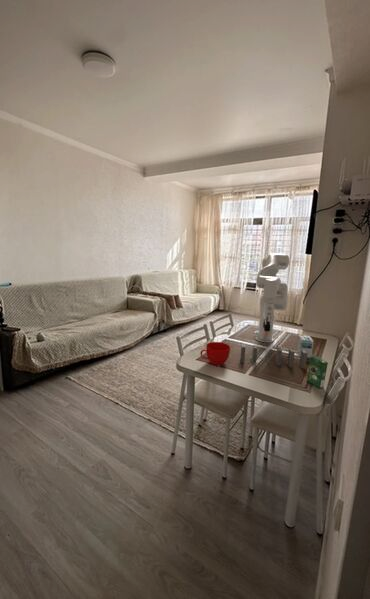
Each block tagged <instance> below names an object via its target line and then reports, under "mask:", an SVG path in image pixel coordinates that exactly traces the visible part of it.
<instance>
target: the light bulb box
mask: <svg viewBox="0 0 370 599" xmlns="http://www.w3.org/2000/svg"><path fill="white" fill-rule="evenodd" d="M314 342H315V341H314V340H313V338H312V337H311V336H310V335H305V334H298V341H297V350H296V351H297V353H298V355H299V356H300V355H301V350H306V352H307V358H308V359H311V356H313V350H314Z"/></svg>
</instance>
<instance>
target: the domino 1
mask: <svg viewBox="0 0 370 599" xmlns="http://www.w3.org/2000/svg"><path fill="white" fill-rule="evenodd" d="M240 346H241V348H240V358H239V360H240V361H239V362H240V363H245V357H246V349H247V348H246V344H245V343H241V345H240Z"/></svg>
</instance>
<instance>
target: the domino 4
mask: <svg viewBox="0 0 370 599" xmlns="http://www.w3.org/2000/svg"><path fill="white" fill-rule="evenodd" d="M295 353H296V351H295V350H294V349H293V348H288V353H287V361H286V364H287V366H288V368H293V367H294V360H295Z"/></svg>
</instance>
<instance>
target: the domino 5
mask: <svg viewBox="0 0 370 599" xmlns="http://www.w3.org/2000/svg"><path fill="white" fill-rule="evenodd" d="M307 358H308V357H307V352H306V350H301V355H299V363H298V364H299V366H300V369H303V370H306V365H307V360H308V359H307Z"/></svg>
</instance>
